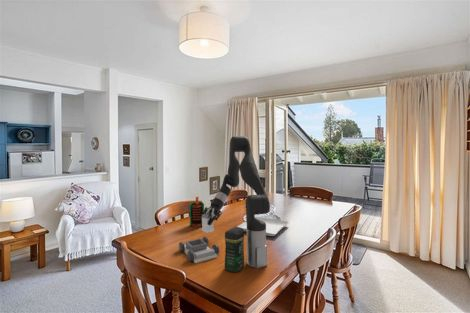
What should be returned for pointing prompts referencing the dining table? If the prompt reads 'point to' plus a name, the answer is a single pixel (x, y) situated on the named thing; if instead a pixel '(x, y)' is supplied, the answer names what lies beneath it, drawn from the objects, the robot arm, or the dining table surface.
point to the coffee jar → (234, 249)
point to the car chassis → (199, 250)
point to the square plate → (269, 225)
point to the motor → (196, 213)
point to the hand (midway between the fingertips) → (205, 223)
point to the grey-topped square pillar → (205, 221)
